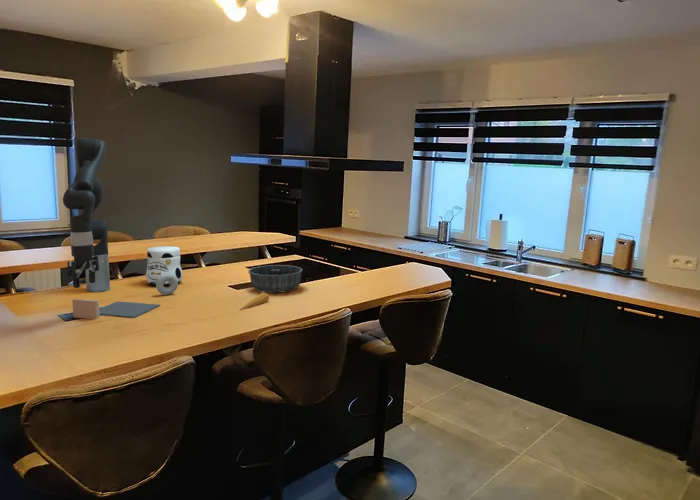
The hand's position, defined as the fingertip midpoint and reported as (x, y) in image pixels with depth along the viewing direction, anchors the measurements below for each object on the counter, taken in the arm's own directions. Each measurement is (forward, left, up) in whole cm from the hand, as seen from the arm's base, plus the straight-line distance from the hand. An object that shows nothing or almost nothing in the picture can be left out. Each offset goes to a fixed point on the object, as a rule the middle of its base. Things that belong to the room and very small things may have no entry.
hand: (84, 285), depth 194 cm
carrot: (+55, +33, -13) cm, 65 cm away
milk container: (-2, +60, -13) cm, 62 cm away
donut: (+11, +40, -13) cm, 44 cm away
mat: (+8, +13, -13) cm, 20 cm away
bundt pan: (+55, +64, -13) cm, 85 cm away
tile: (0, 0, -13) cm, 13 cm away
